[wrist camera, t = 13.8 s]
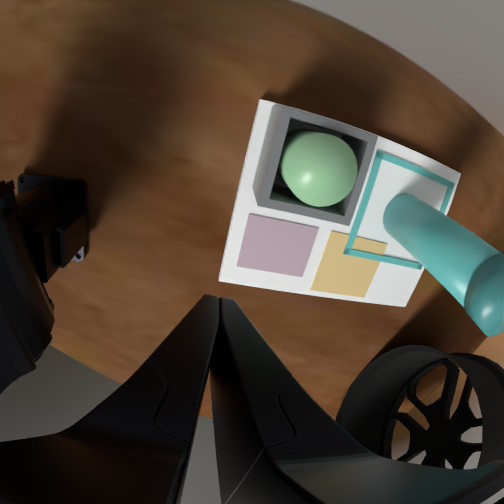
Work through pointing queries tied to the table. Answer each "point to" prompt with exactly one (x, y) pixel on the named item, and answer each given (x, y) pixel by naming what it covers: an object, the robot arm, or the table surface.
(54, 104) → the table surface
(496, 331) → the teal round-topped cylinder
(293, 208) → the button housing
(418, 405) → the car wheel rim
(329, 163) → the button
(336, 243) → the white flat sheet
